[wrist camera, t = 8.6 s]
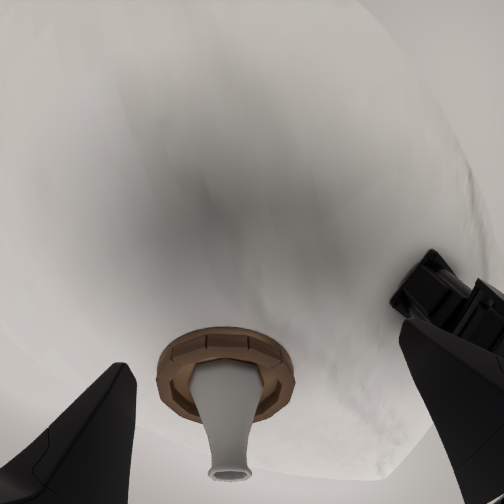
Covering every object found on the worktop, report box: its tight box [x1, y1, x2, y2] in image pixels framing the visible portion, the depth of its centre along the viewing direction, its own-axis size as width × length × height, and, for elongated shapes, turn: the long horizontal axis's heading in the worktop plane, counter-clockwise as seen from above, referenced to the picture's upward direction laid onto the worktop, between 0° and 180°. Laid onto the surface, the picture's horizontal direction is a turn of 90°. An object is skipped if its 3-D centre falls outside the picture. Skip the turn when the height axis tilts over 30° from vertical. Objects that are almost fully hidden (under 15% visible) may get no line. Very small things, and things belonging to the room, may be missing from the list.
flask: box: [188, 359, 265, 482], centre depth 19 cm, size 7×7×10 cm
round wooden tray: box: [156, 327, 295, 424], centre depth 24 cm, size 13×13×2 cm
